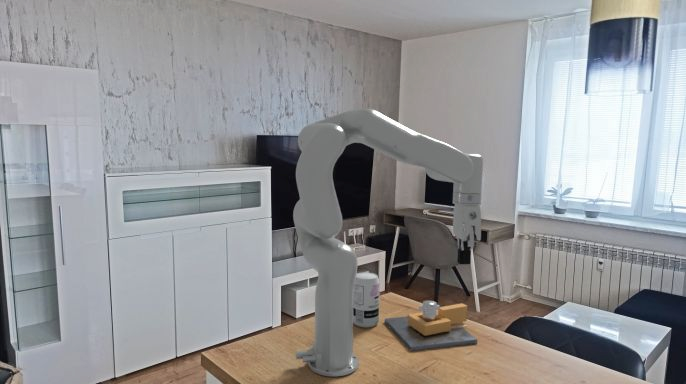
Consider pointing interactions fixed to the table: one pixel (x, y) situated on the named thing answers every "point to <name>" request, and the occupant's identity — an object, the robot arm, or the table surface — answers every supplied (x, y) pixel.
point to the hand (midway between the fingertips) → (463, 263)
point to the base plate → (438, 340)
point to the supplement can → (366, 300)
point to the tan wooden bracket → (439, 319)
